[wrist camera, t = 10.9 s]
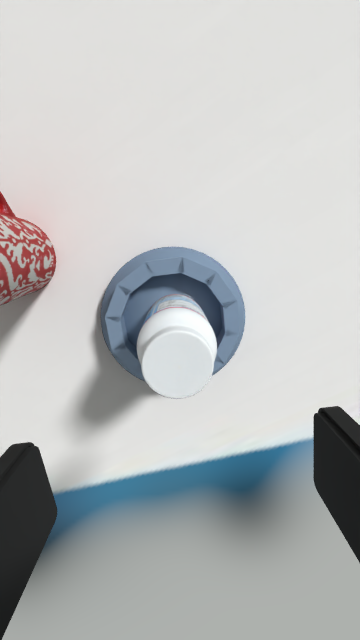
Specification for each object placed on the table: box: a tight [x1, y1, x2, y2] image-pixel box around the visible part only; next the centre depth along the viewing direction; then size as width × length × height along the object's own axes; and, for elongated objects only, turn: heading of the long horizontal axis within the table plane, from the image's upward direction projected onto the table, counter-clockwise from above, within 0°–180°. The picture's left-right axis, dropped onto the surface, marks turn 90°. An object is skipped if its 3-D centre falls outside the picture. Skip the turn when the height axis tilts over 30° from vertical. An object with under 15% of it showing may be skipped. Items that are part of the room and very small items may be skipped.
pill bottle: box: [137, 294, 217, 399], centre depth 22 cm, size 6×6×11 cm
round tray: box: [101, 247, 245, 381], centre depth 27 cm, size 15×15×3 cm
